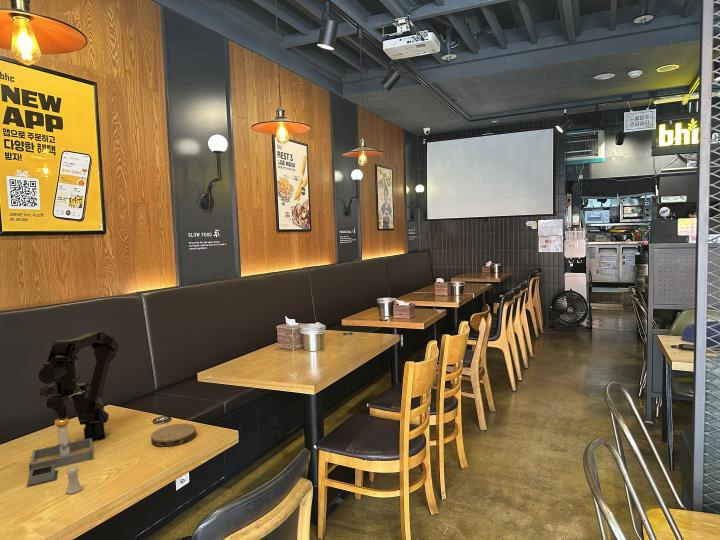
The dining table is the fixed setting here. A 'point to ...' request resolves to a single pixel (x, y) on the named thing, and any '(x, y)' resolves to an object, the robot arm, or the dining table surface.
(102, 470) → the dining table surface
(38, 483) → the bracket
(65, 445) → the stop pin
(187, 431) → the wooden coaster disc
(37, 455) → the pin tray
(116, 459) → the dining table surface
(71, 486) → the rook chess piece
